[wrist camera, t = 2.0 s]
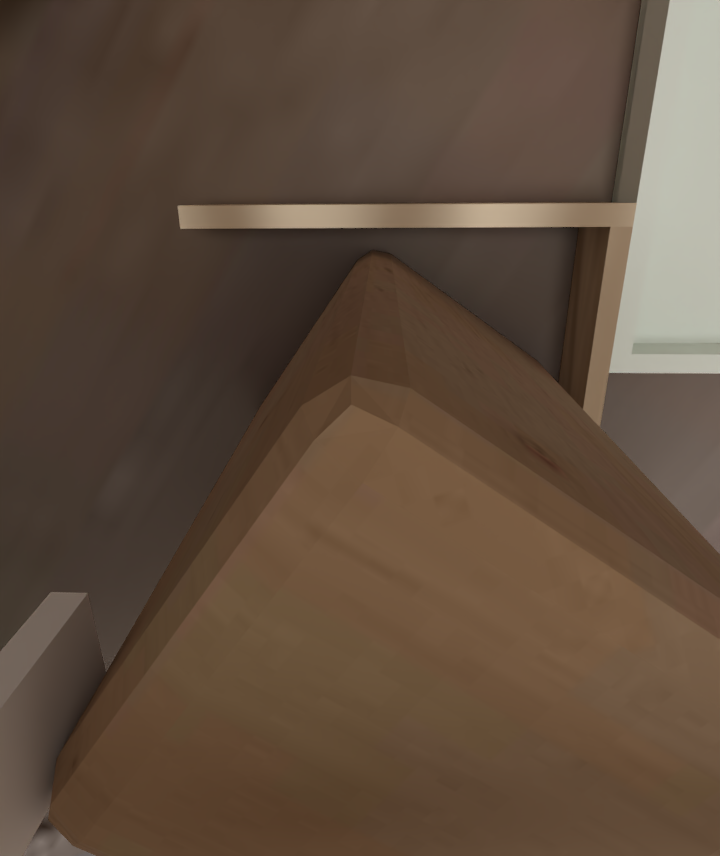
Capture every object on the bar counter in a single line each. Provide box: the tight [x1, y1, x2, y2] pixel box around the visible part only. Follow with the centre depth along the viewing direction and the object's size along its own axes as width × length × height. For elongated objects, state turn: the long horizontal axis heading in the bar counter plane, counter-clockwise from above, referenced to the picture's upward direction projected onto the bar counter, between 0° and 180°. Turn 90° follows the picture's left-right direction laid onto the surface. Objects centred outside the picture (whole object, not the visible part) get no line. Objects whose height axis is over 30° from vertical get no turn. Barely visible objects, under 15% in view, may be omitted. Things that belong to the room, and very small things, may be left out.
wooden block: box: [48, 250, 720, 856], centre depth 18 cm, size 10×10×20 cm
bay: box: [178, 202, 637, 427], centre depth 25 cm, size 17×17×4 cm
